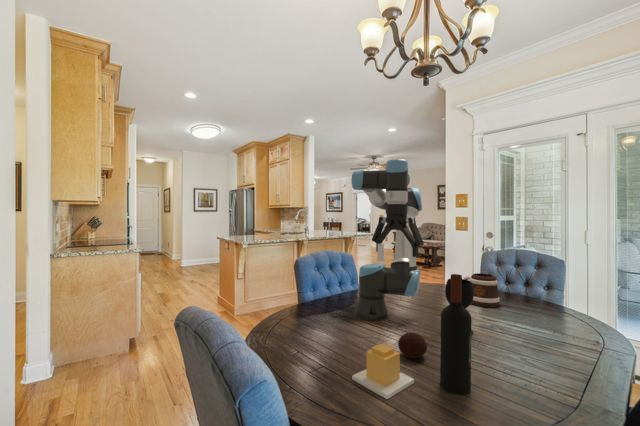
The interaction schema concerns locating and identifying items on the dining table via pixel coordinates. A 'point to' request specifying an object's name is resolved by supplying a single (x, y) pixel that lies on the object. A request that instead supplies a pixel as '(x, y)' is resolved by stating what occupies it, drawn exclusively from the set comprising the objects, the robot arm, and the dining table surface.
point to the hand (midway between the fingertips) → (395, 263)
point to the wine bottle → (455, 343)
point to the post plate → (381, 390)
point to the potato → (412, 345)
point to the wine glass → (466, 293)
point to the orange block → (383, 364)
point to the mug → (484, 290)
